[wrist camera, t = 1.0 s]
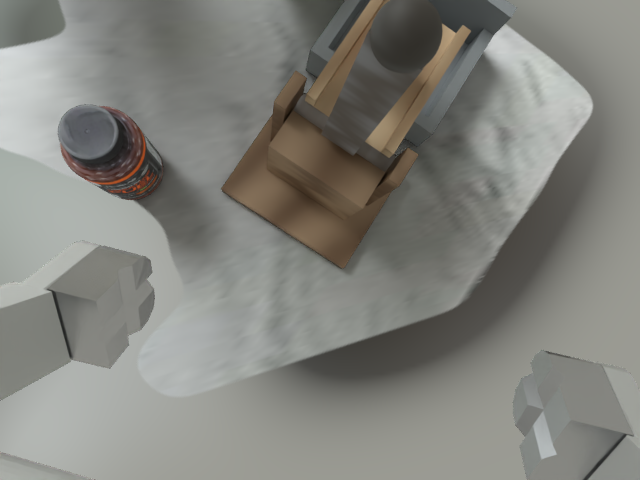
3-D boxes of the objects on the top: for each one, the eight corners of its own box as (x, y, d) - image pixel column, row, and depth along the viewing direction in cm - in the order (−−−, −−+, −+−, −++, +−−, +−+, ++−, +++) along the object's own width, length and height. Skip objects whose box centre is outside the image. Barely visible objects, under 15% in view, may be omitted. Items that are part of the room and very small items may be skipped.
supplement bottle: (126, 214, 41) (77, 191, 29) (85, 164, 40) (20, 123, 29) (178, 175, 42) (149, 139, 30) (138, 127, 41) (94, 73, 30)
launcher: (284, 125, 34) (311, -19, 17) (375, -8, 36) (478, -253, 19) (374, 186, 35) (484, 103, 18) (458, 51, 37) (628, -136, 20)
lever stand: (222, 191, 42) (209, 162, 31) (288, 94, 44) (299, 35, 33) (341, 268, 43) (369, 266, 32) (401, 171, 45) (447, 138, 34)
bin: (305, 69, 44) (314, 32, 37) (373, -29, 46) (394, -83, 39) (417, 146, 45) (445, 123, 38) (479, 46, 47) (517, 7, 40)
